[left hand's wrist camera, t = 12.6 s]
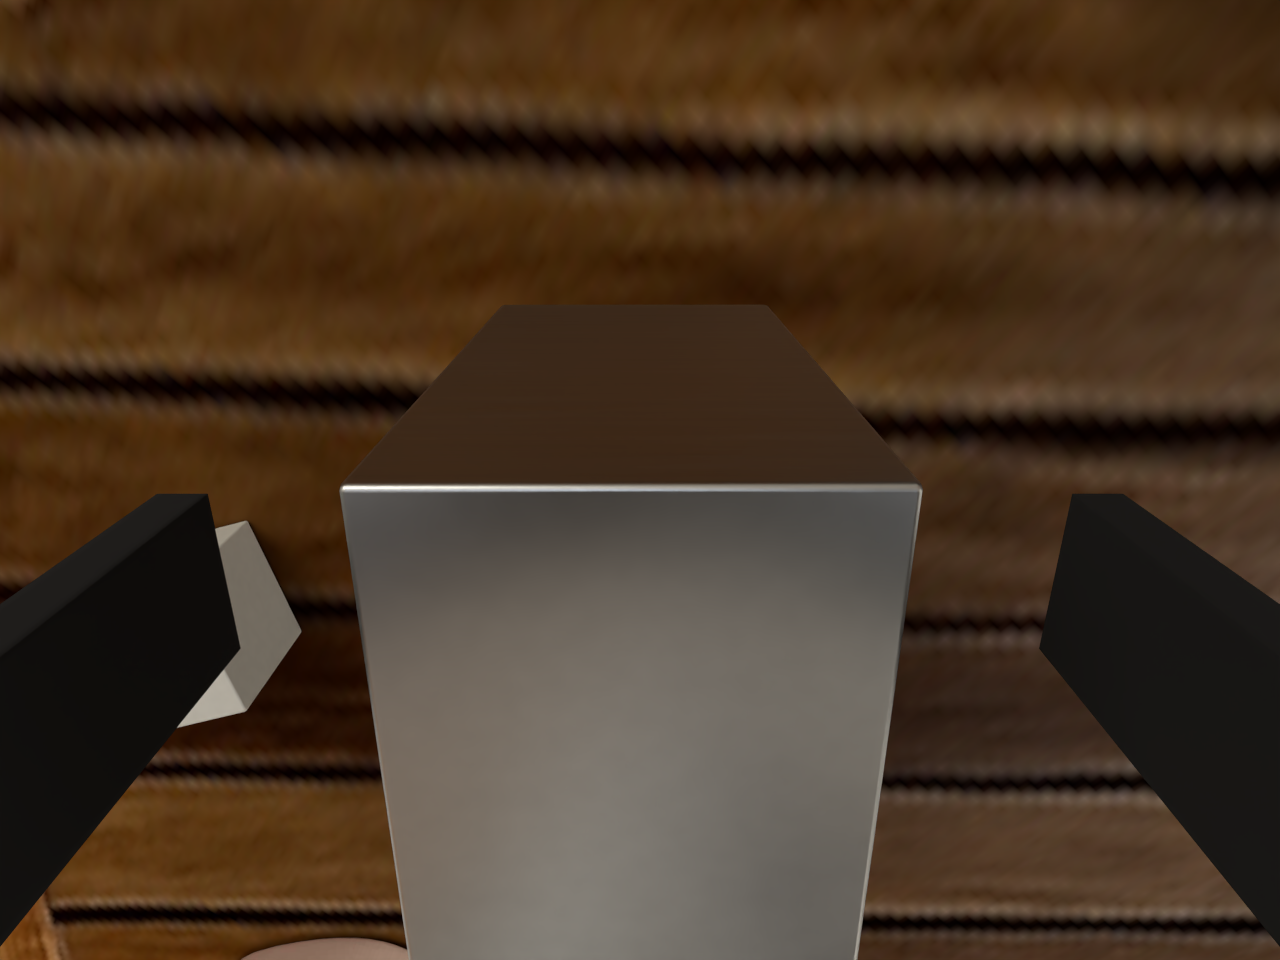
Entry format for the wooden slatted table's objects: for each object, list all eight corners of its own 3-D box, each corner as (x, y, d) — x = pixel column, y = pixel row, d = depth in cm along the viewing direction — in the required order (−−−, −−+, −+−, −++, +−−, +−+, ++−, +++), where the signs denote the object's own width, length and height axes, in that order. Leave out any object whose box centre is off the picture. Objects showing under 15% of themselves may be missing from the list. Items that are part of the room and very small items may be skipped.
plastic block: (247, 519, 30) (177, 585, 26) (302, 631, 32) (246, 712, 27) (125, 551, 31) (34, 622, 26) (186, 660, 32) (111, 744, 28)
